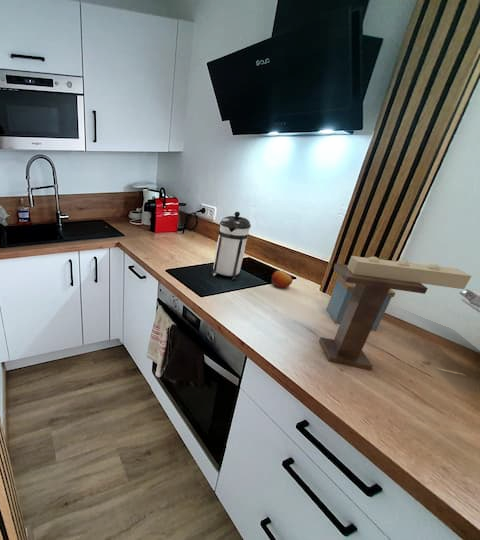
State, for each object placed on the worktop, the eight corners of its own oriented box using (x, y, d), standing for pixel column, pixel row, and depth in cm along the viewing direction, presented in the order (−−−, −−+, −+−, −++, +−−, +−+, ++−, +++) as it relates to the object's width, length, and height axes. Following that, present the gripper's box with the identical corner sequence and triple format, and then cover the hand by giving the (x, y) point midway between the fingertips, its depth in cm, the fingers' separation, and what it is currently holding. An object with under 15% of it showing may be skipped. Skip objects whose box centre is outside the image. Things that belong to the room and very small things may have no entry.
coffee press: (250, 280, 130) (266, 215, 118) (218, 282, 127) (230, 215, 115) (231, 265, 146) (243, 207, 134) (201, 267, 143) (211, 207, 131)
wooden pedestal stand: (368, 351, 86) (405, 272, 75) (383, 373, 77) (428, 288, 67) (308, 338, 91) (335, 263, 80) (316, 358, 82) (347, 276, 72)
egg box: (451, 281, 71) (460, 264, 69) (464, 289, 67) (474, 271, 65) (346, 267, 77) (352, 251, 75) (353, 274, 73) (359, 257, 72)
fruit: (263, 278, 129) (276, 265, 126) (277, 287, 130) (290, 274, 127) (269, 286, 122) (284, 272, 118) (283, 295, 123) (298, 282, 119)
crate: (364, 315, 105) (380, 279, 99) (377, 331, 95) (395, 293, 90) (325, 308, 108) (337, 274, 103) (333, 323, 99) (348, 286, 93)
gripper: (507, 305, 75) (461, 274, 76) (593, 353, 57) (532, 312, 58) (480, 320, 78) (436, 290, 79) (554, 370, 60) (497, 330, 61)
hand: (477, 299), depth 68 cm, fingers open, 8 cm apart
